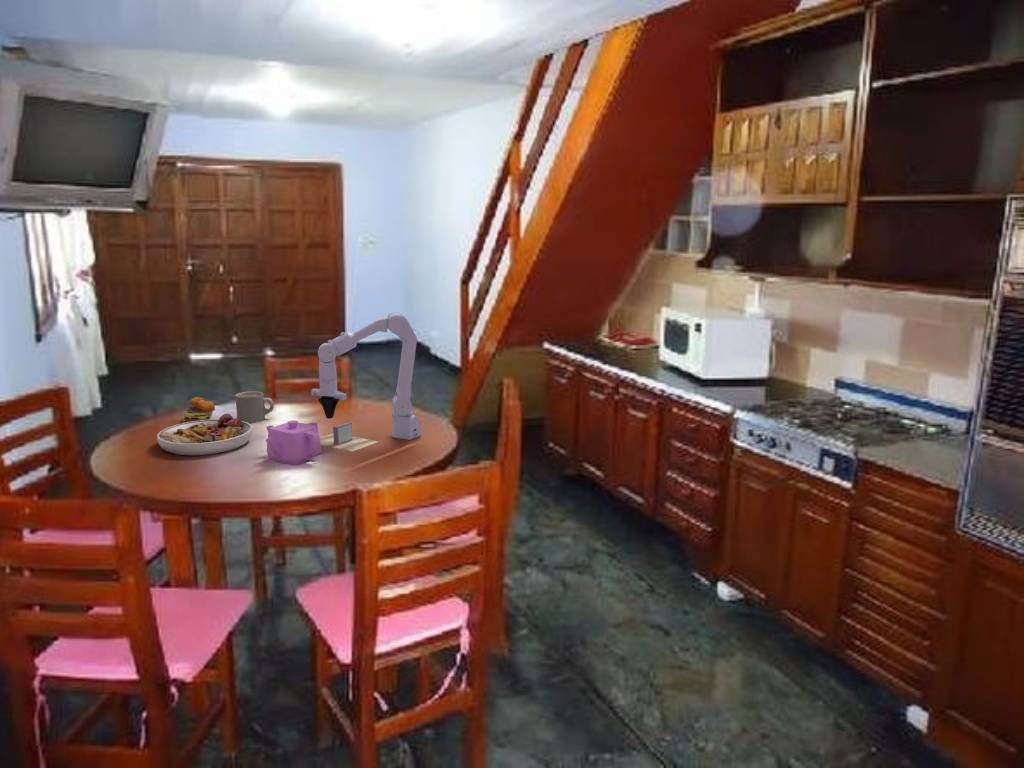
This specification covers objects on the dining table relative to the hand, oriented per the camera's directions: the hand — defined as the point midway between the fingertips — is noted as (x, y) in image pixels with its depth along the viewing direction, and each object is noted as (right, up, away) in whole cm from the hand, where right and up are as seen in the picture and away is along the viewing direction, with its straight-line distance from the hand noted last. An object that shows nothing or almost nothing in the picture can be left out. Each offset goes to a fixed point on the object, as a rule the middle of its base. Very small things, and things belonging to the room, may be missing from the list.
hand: (329, 417), depth 255 cm
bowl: (-42, -9, -1) cm, 43 cm away
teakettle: (-8, -13, -15) cm, 21 cm away
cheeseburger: (-56, -2, +28) cm, 63 cm away
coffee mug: (-36, -2, +30) cm, 46 cm away
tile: (+5, -8, -1) cm, 10 cm away
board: (+5, -9, -1) cm, 11 cm away
